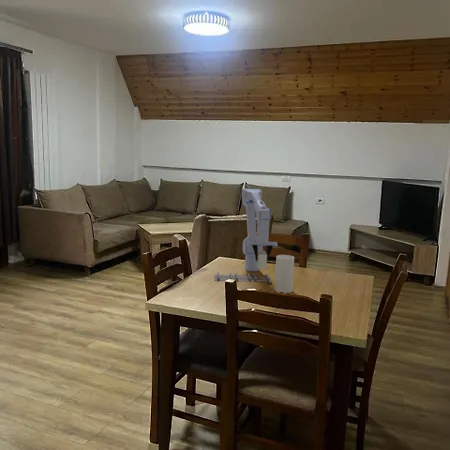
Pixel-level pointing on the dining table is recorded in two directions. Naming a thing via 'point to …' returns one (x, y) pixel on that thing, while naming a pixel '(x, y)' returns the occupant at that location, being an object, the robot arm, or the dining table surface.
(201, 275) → the dining table surface
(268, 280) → the notch rail
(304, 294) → the dining table surface
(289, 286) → the cup
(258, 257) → the white rectangular block
